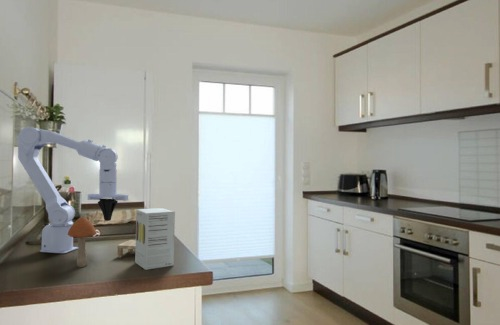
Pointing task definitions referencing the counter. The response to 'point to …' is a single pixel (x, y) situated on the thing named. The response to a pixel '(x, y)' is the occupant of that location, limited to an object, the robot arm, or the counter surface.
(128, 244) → the footstool
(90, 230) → the mushroom
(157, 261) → the supplement box
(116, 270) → the counter surface
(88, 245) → the counter surface
